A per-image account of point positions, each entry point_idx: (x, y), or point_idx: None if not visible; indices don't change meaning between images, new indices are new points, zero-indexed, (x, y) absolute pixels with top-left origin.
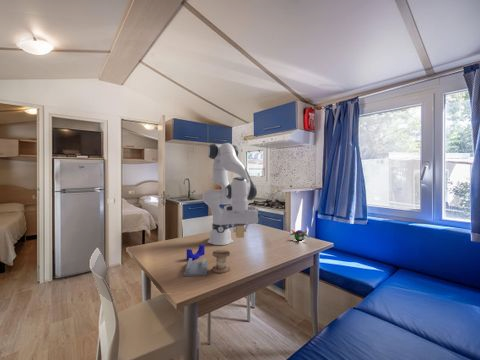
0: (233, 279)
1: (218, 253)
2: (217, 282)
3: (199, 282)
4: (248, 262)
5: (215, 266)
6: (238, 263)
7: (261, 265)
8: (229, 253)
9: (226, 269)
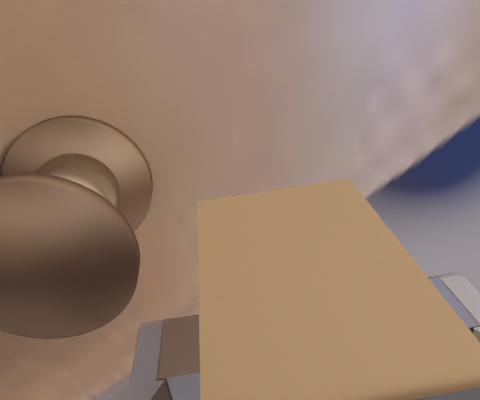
0: (196, 305)
1: (18, 295)
2: (108, 340)
3: (2, 348)
4: (316, 12)
5: (20, 170)
6: (217, 42)
7: (418, 86)
8: (137, 275)
9: (130, 217)
